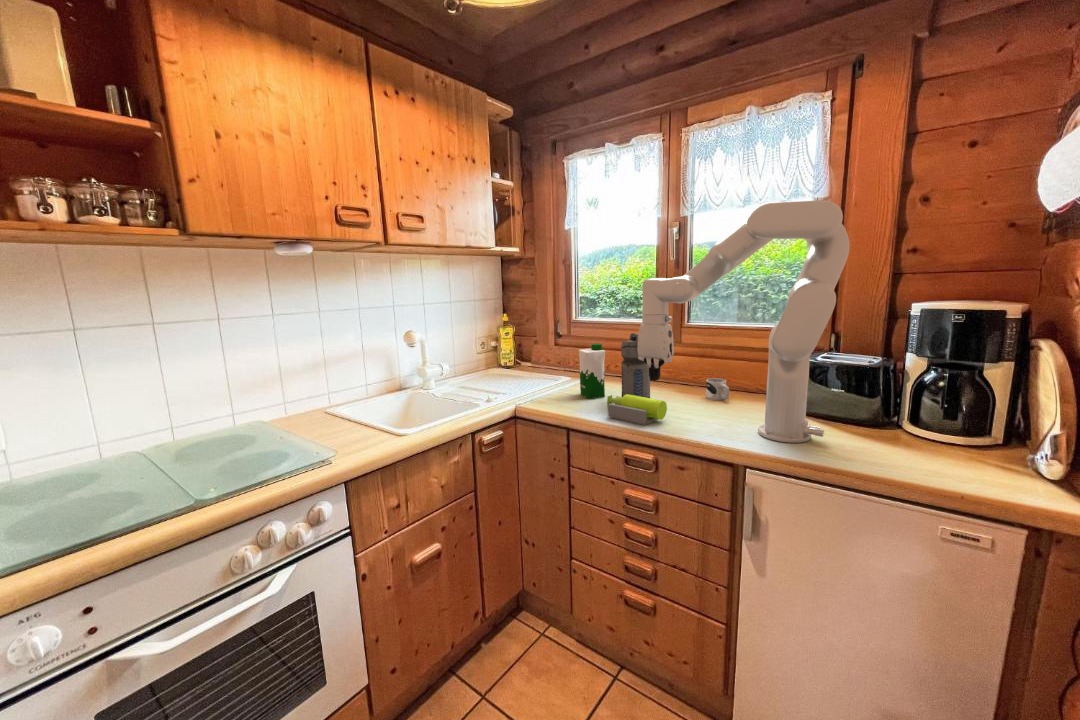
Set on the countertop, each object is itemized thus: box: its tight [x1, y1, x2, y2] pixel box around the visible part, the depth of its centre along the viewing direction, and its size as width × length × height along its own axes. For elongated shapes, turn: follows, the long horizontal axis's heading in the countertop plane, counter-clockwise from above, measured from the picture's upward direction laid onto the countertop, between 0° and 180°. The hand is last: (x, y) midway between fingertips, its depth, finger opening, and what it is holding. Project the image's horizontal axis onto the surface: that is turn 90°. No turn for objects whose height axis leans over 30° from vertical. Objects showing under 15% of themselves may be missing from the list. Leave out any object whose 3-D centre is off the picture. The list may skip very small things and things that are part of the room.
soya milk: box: [578, 343, 606, 400], centre depth 163 cm, size 9×9×20 cm
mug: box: [705, 377, 730, 401], centre depth 153 cm, size 10×7×7 cm, turn 15°
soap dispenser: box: [606, 394, 668, 421], centre depth 137 cm, size 6×7×20 cm
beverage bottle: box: [620, 332, 651, 398], centre depth 153 cm, size 10×13×25 cm
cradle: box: [607, 403, 657, 426], centre depth 137 cm, size 13×11×4 cm
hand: (654, 379), depth 130 cm, fingers closed
